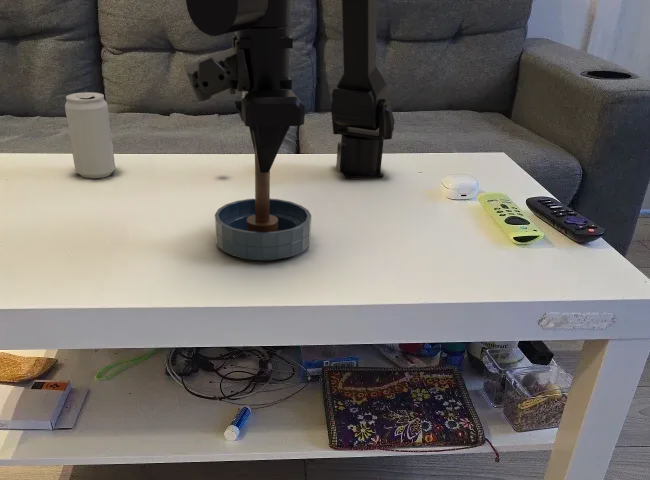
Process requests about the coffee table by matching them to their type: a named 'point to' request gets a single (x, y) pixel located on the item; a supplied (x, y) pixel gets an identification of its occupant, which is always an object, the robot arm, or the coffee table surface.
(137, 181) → the coffee table surface
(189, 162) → the coffee table surface
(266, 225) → the rod
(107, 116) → the beverage can
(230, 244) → the bowl
